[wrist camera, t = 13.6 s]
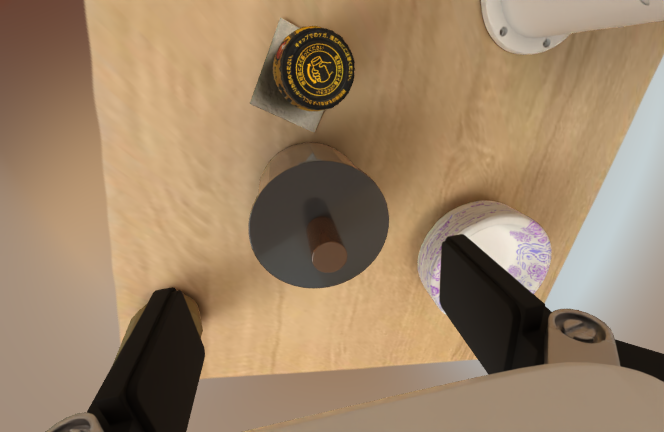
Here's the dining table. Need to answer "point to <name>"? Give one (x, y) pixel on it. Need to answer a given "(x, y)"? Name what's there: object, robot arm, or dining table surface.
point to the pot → (299, 158)
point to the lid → (318, 223)
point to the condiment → (304, 74)
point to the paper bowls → (489, 243)
